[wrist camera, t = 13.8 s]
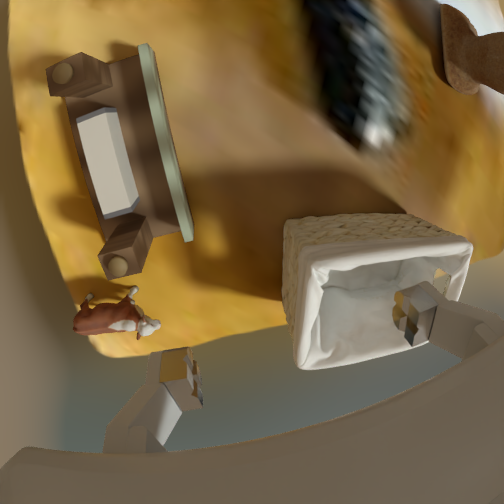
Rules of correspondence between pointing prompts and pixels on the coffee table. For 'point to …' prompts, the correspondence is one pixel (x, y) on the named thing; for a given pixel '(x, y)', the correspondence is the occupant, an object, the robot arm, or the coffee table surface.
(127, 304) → the bull figurine
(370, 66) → the coffee table surface
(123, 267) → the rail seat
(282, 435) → the robot arm
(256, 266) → the coffee table surface
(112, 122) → the rail bar
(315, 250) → the storage basket
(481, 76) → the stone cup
